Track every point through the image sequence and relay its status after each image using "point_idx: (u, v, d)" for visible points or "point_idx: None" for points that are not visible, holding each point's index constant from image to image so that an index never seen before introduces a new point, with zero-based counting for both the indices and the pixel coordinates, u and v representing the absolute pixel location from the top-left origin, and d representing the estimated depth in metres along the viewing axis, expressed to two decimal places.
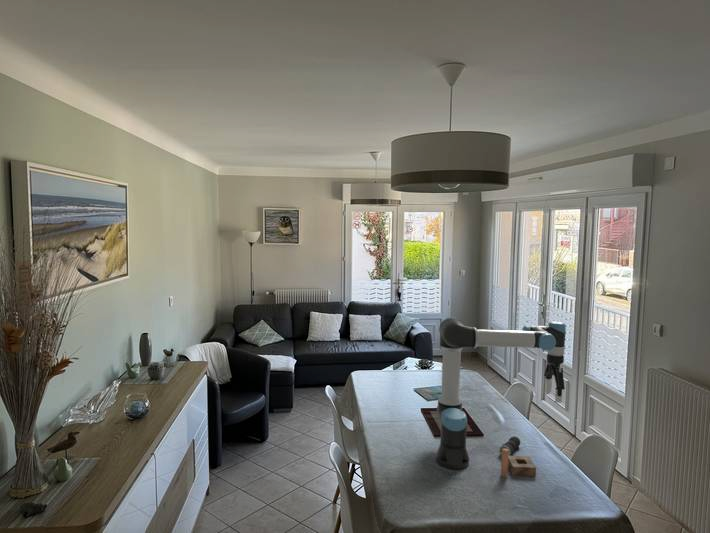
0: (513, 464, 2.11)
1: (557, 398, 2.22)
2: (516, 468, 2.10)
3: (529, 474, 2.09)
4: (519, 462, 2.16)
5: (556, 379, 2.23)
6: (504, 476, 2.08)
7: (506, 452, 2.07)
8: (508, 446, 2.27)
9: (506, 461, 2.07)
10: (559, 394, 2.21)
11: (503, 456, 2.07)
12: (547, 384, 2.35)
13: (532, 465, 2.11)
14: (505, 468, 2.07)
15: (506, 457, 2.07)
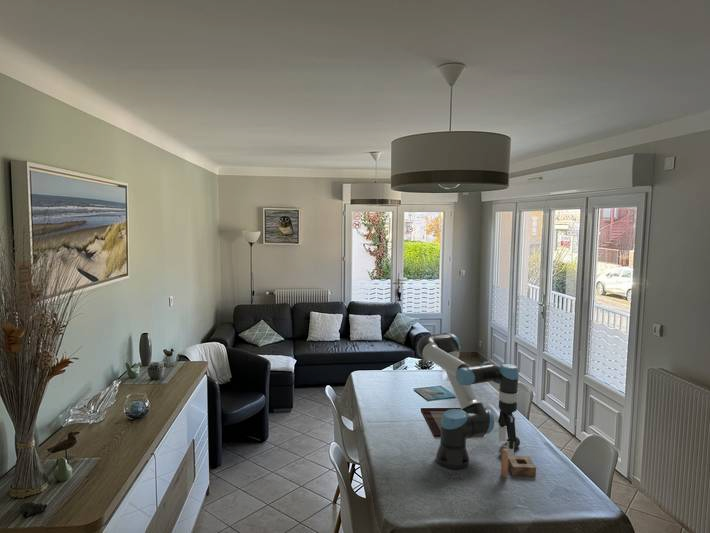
0: (513, 464, 2.11)
1: (509, 451, 2.00)
2: (516, 468, 2.10)
3: (529, 474, 2.09)
4: (519, 462, 2.16)
5: (508, 429, 2.01)
6: (504, 476, 2.08)
7: (506, 452, 2.07)
8: None
9: (506, 461, 2.07)
10: (511, 446, 1.99)
11: (503, 456, 2.07)
12: (501, 432, 2.14)
13: (532, 465, 2.11)
14: (505, 468, 2.07)
15: (506, 457, 2.07)
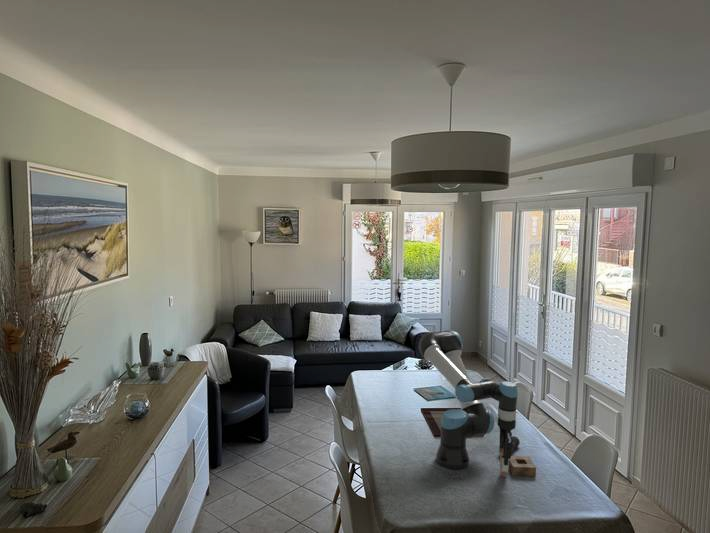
0: (513, 464, 2.11)
1: (503, 467, 2.07)
2: (516, 468, 2.10)
3: (529, 474, 2.09)
4: (519, 462, 2.16)
5: (504, 447, 2.05)
6: (504, 475, 2.08)
7: None
8: None
9: None
10: (505, 463, 2.06)
11: None
12: None
13: (532, 465, 2.11)
14: None
15: None
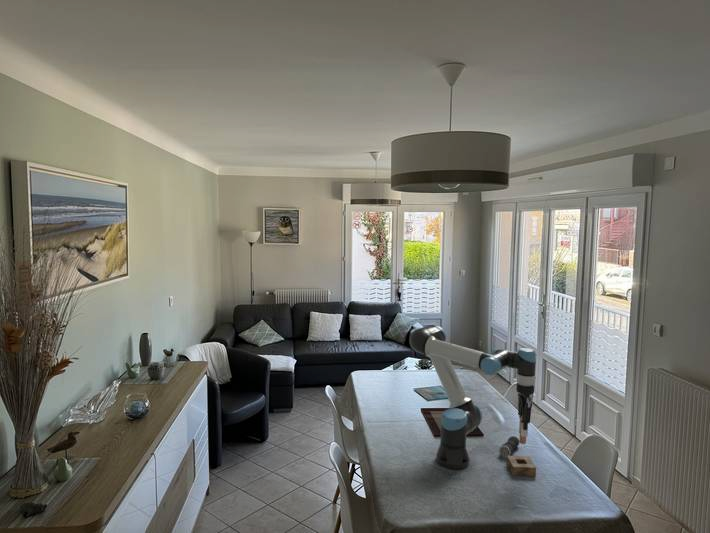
0: (513, 464, 2.11)
1: (523, 432, 2.11)
2: (516, 468, 2.10)
3: (529, 474, 2.09)
4: (519, 462, 2.16)
5: (523, 412, 2.09)
6: (523, 442, 2.12)
7: None
8: (508, 446, 2.27)
9: None
10: (525, 428, 2.10)
11: None
12: None
13: (532, 465, 2.11)
14: None
15: None
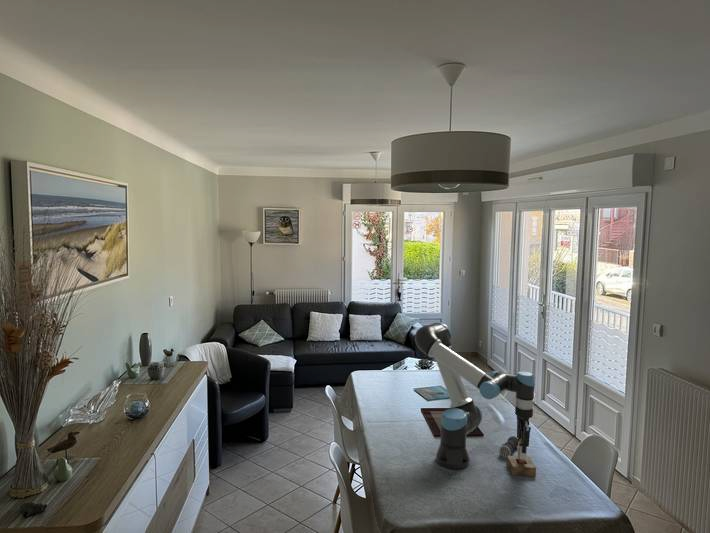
0: (513, 464, 2.11)
1: (521, 455, 2.12)
2: (516, 468, 2.10)
3: (529, 474, 2.09)
4: None
5: (522, 436, 2.10)
6: None
7: None
8: (508, 446, 2.27)
9: None
10: (523, 451, 2.11)
11: None
12: None
13: (532, 465, 2.11)
14: None
15: None
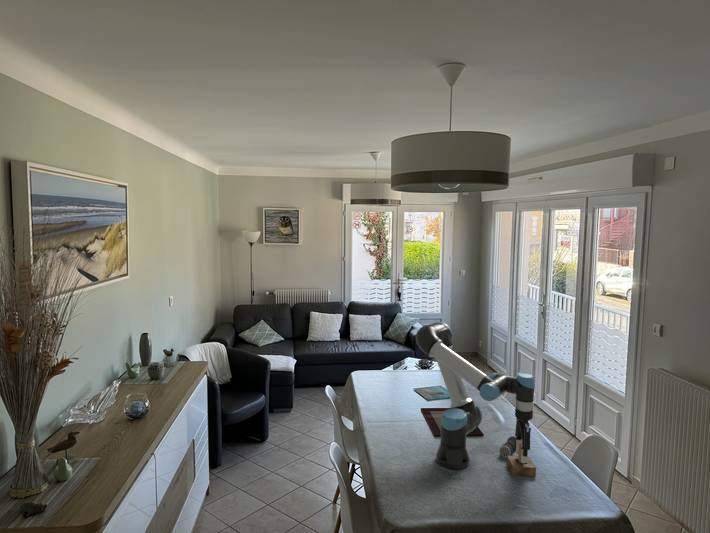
0: (513, 464, 2.11)
1: (523, 458, 2.10)
2: (516, 468, 2.10)
3: (529, 474, 2.09)
4: None
5: (523, 438, 2.09)
6: None
7: None
8: (508, 446, 2.26)
9: None
10: (525, 454, 2.08)
11: (520, 451, 2.13)
12: (518, 446, 2.17)
13: (532, 465, 2.11)
14: None
15: None
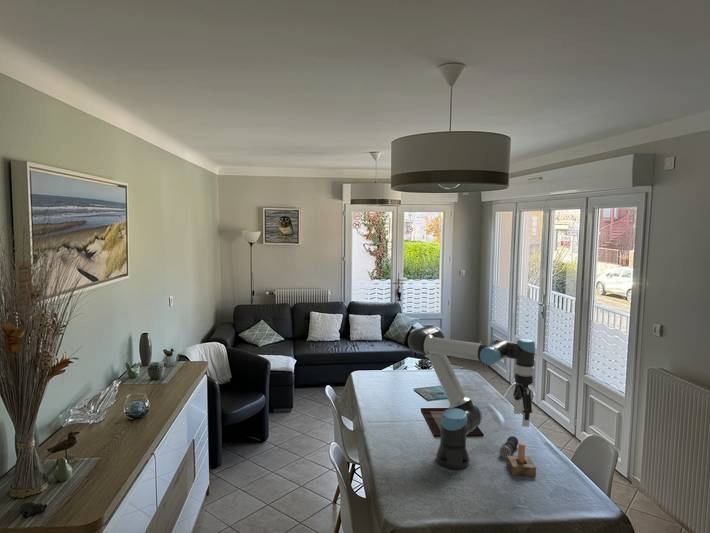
0: (513, 464, 2.11)
1: (524, 422, 2.06)
2: (516, 468, 2.10)
3: (529, 474, 2.09)
4: None
5: (524, 401, 2.07)
6: None
7: (523, 446, 2.12)
8: (508, 446, 2.26)
9: (523, 455, 2.13)
10: (526, 418, 2.05)
11: (520, 450, 2.13)
12: (516, 405, 2.19)
13: (532, 465, 2.11)
14: (522, 462, 2.13)
15: (523, 451, 2.12)
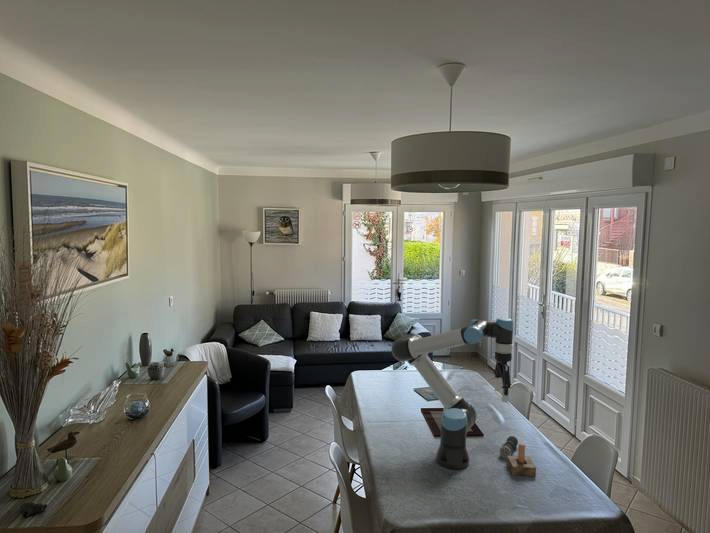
0: (513, 464, 2.11)
1: (504, 397, 2.14)
2: (516, 468, 2.10)
3: (529, 474, 2.09)
4: None
5: (503, 378, 2.15)
6: None
7: (523, 446, 2.12)
8: (508, 446, 2.26)
9: (523, 455, 2.13)
10: (505, 393, 2.13)
11: (520, 450, 2.13)
12: (496, 383, 2.27)
13: (532, 465, 2.11)
14: (522, 462, 2.13)
15: (523, 451, 2.12)
